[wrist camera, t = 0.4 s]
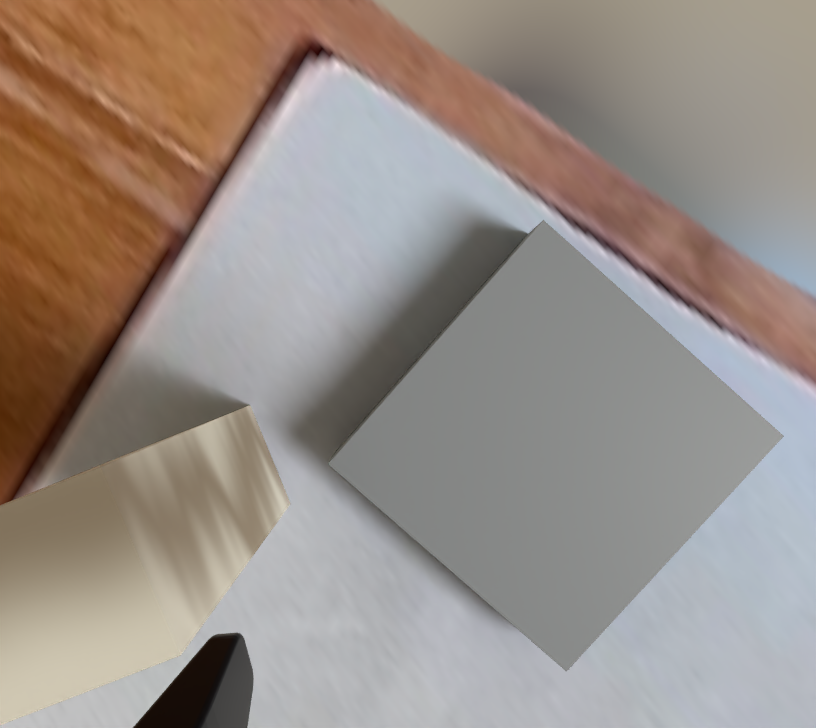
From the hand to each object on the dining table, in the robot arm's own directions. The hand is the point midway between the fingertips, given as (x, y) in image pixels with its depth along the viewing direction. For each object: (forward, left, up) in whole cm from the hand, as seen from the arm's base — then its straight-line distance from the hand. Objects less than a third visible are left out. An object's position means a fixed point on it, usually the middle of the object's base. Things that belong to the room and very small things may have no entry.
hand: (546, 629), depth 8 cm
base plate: (+2, -2, -15) cm, 15 cm away
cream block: (-8, +7, -15) cm, 18 cm away
